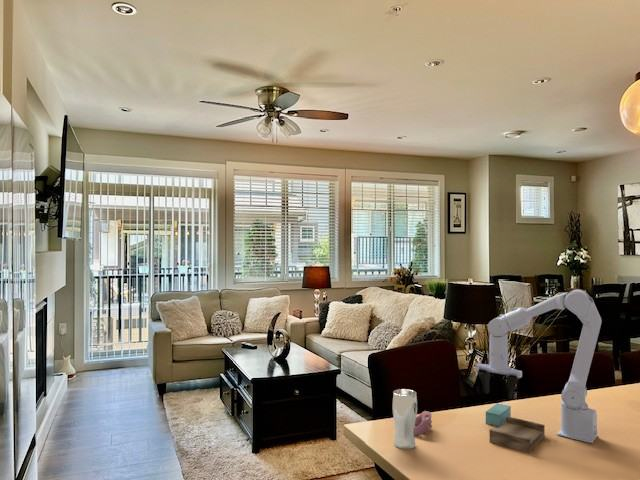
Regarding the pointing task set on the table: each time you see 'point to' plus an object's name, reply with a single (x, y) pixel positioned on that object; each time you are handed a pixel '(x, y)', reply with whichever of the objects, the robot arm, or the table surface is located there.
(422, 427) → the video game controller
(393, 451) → the table surface
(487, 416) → the teal rectangular block
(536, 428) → the display stand
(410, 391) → the beer glass
